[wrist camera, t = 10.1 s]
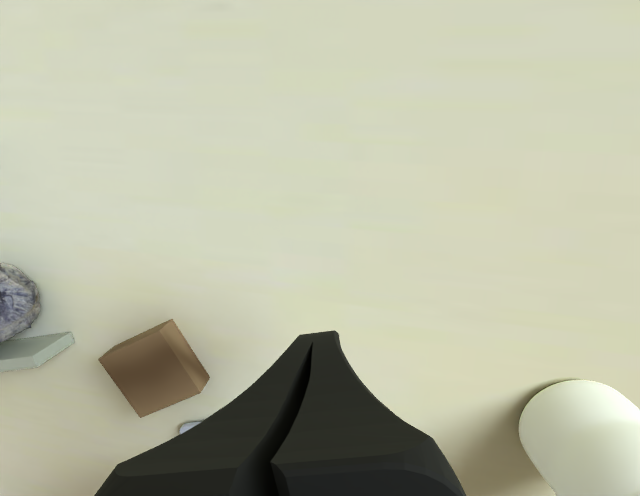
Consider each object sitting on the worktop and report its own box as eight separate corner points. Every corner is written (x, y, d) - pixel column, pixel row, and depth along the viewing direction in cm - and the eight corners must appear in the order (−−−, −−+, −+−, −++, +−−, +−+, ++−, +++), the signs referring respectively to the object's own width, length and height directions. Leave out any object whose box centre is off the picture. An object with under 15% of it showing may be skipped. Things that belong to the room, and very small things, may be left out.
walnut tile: (211, 374, 24) (200, 392, 22) (156, 397, 25) (140, 417, 23) (174, 316, 23) (159, 330, 21) (117, 343, 24) (98, 359, 22)
